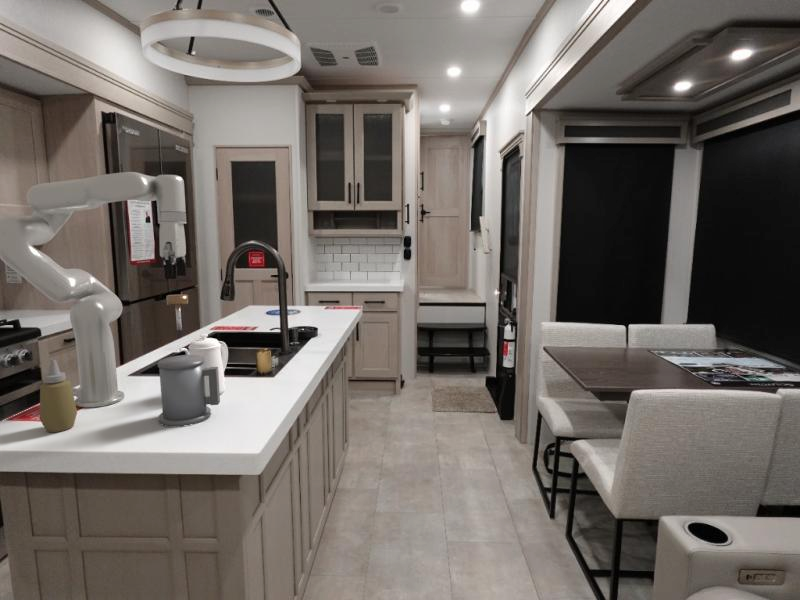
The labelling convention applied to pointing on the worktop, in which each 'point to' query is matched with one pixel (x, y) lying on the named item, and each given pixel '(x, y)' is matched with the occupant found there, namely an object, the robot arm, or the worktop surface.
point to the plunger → (177, 306)
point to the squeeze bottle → (57, 401)
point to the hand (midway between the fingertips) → (176, 277)
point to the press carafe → (186, 390)
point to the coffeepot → (210, 357)
